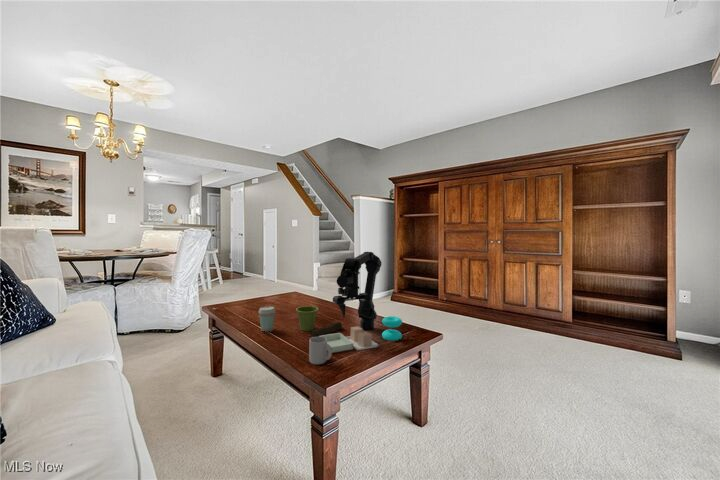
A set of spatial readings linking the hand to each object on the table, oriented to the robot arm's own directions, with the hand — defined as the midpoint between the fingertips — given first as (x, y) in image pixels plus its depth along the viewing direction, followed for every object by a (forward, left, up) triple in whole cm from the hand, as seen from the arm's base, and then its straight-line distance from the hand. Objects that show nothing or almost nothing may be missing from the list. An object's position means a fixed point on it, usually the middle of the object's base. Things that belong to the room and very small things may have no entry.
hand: (352, 315), depth 150 cm
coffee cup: (+36, -31, -12) cm, 49 cm away
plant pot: (+16, -24, -12) cm, 31 cm away
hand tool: (+8, -14, -13) cm, 20 cm away
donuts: (-19, +6, -12) cm, 24 cm away
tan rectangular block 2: (-2, +11, -12) cm, 16 cm away
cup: (+22, +17, -12) cm, 30 cm away
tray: (-2, +6, -12) cm, 14 cm away
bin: (+10, +4, -12) cm, 16 cm away
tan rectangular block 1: (-2, +2, -12) cm, 12 cm away
